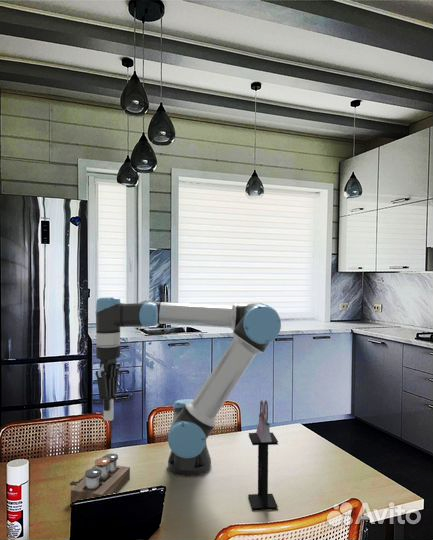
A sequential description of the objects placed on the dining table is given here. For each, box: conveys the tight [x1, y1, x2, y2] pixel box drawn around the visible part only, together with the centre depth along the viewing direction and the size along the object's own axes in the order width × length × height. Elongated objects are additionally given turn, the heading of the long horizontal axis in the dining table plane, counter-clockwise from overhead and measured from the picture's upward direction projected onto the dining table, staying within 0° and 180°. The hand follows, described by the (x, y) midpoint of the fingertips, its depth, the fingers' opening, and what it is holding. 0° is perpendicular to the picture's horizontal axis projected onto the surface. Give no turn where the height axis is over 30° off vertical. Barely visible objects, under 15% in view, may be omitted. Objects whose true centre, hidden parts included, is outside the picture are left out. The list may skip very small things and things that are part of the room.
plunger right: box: [103, 453, 119, 474], centre depth 132 cm, size 4×4×8 cm
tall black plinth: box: [247, 400, 279, 512], centre depth 121 cm, size 10×8×30 cm
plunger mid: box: [94, 457, 110, 482], centre depth 127 cm, size 4×4×8 cm
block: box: [70, 465, 131, 504], centre depth 127 cm, size 10×18×4 cm, turn 166°
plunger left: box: [84, 467, 101, 491], centre depth 122 cm, size 4×4×8 cm
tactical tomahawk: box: [69, 455, 105, 486], centre depth 140 cm, size 21×7×1 cm, turn 166°
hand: (108, 419), depth 131 cm, fingers closed
